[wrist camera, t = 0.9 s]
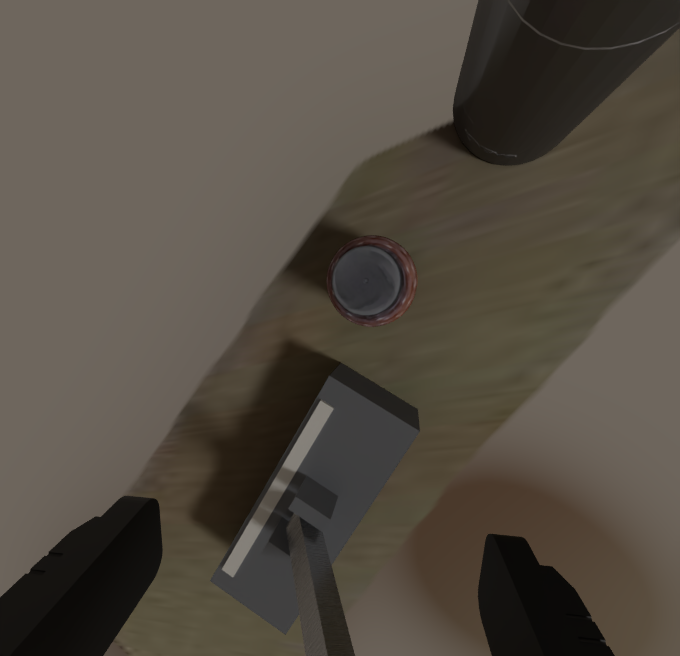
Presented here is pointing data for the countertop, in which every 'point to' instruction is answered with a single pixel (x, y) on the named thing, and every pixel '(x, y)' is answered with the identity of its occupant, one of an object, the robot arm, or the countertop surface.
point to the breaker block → (318, 489)
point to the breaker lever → (317, 592)
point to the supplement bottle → (371, 281)
